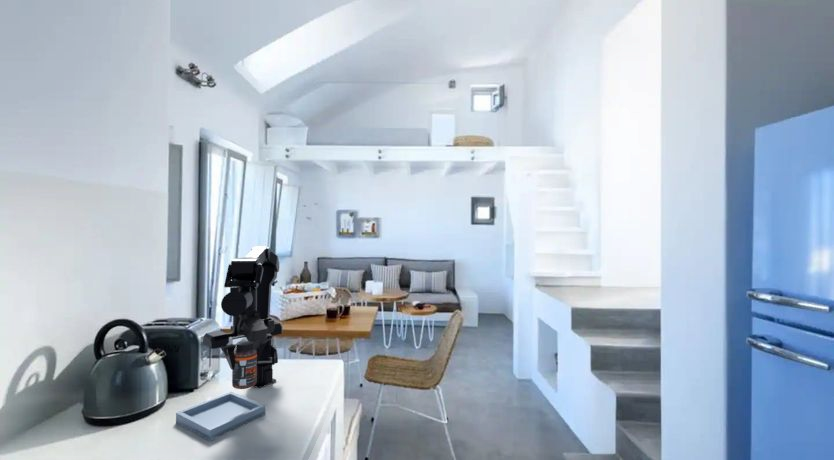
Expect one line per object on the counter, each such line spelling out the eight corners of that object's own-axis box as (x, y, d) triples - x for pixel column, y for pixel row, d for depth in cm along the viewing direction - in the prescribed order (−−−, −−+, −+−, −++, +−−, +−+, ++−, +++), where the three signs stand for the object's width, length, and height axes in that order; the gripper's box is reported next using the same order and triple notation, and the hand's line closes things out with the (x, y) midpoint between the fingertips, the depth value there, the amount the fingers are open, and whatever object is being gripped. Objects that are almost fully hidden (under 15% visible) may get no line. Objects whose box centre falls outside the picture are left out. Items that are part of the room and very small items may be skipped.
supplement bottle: (248, 391, 100) (248, 346, 100) (227, 389, 101) (226, 345, 101) (261, 381, 106) (261, 339, 106) (241, 379, 107) (241, 338, 107)
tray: (175, 422, 99) (176, 412, 99) (231, 400, 112) (231, 391, 112) (209, 440, 91) (210, 430, 91) (265, 414, 104) (265, 405, 104)
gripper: (221, 318, 91) (221, 385, 91) (293, 306, 105) (293, 364, 105) (202, 310, 98) (201, 373, 98) (272, 300, 112) (271, 354, 112)
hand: (244, 366), depth 103 cm, fingers closed on supplement bottle, 6 cm apart
